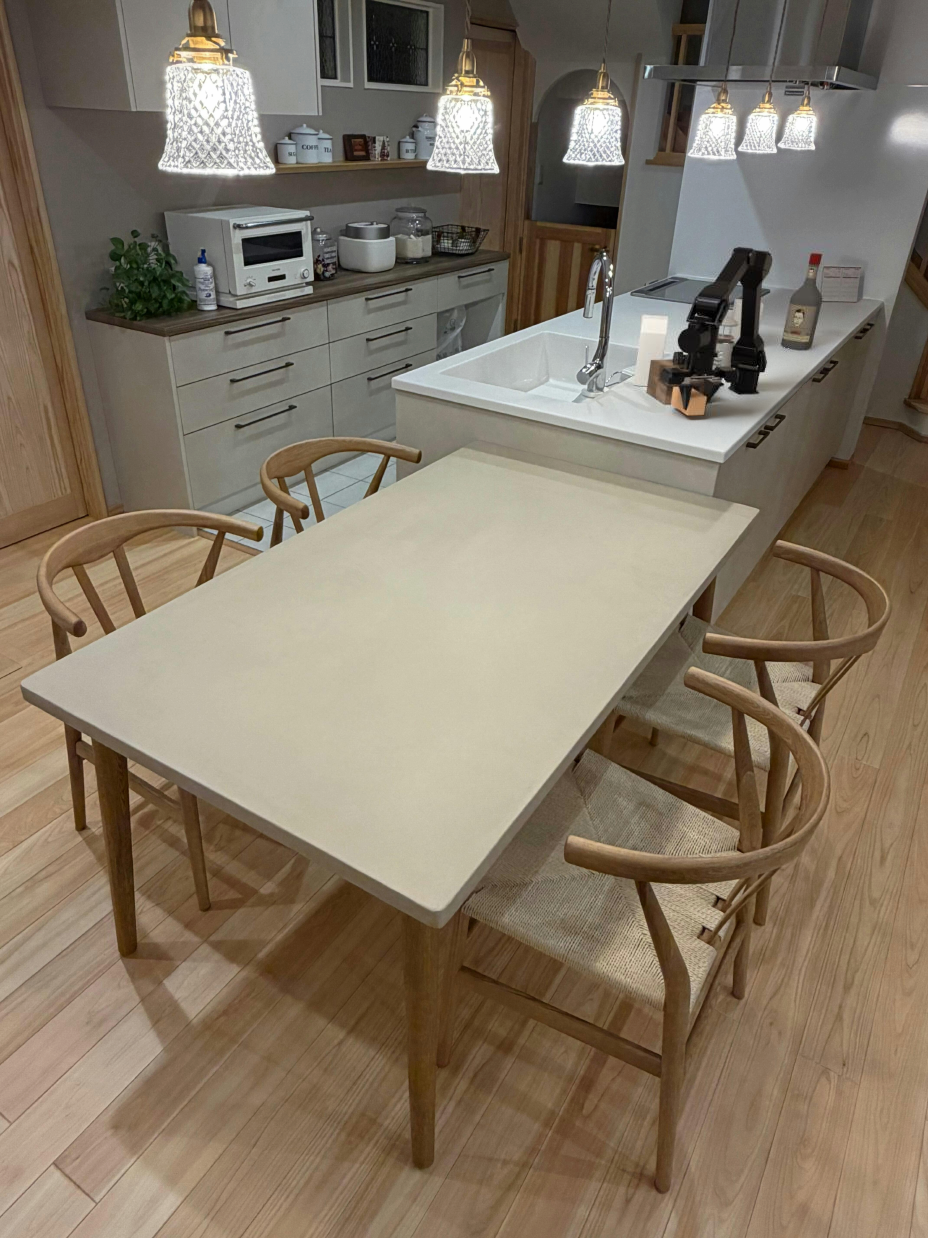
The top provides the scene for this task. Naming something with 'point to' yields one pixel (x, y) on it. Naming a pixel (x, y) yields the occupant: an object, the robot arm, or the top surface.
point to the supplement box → (739, 319)
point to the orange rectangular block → (695, 402)
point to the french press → (725, 348)
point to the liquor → (803, 310)
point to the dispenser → (661, 388)
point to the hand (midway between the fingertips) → (693, 409)
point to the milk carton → (650, 346)
